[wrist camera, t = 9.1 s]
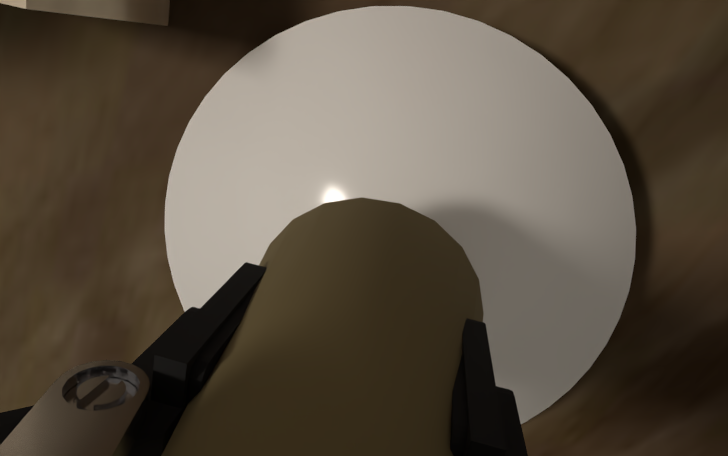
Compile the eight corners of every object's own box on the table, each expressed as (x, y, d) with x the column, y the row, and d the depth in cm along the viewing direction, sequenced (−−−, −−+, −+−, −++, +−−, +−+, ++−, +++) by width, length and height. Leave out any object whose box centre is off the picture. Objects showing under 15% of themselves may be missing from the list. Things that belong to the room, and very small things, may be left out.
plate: (703, 69, 15) (725, 70, 13) (537, 473, 20) (543, 499, 18) (203, -37, 16) (184, -44, 15) (166, 371, 21) (150, 388, 20)
